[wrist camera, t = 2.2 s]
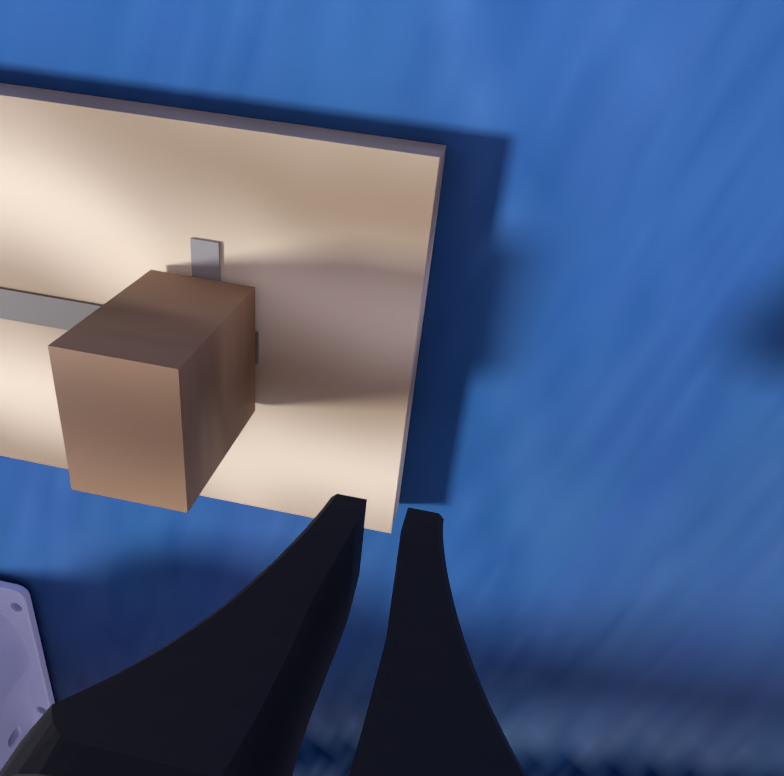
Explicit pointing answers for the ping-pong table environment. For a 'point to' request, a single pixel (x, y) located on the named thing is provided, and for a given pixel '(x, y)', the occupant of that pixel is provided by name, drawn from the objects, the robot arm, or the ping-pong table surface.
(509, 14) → the ping-pong table surface
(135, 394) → the fader knob
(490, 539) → the ping-pong table surface
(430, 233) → the fader panel
